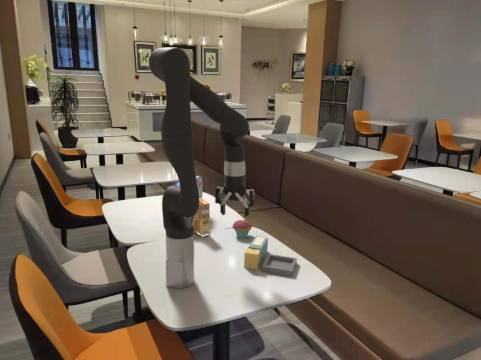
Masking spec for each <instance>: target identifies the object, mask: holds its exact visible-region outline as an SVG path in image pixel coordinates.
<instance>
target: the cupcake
mask: <svg viewBox="0 0 481 360" xmlns="http://www.w3.org/2000/svg"><path fill="white" fill-rule="evenodd" d="M246 219H247V217H245V216H244V217H243V219H239V220H235V221H234V222H233V223H232V229H233V230H234V231H235V234H236V236H237V237H238V236H239V237H238V238H241V237H244V238H247V237H248V236H249V232H250V231H251V230H252V227H253V226H252V223H251V222H249V221H248V220H246ZM247 235H248V236H247ZM246 236H247V237H246Z"/></svg>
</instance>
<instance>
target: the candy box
mask: <svg viewBox="0 0 481 360" xmlns="http://www.w3.org/2000/svg"><path fill="white" fill-rule="evenodd" d="M210 204H211V203H210V202H208V201H206V200H205V199H203V198H202V199H201V198H199V208H198V211H197V213H196V214H195V215H194V216H193V221H192V225H193V226H194V232H195V231H197V232H198V233H200V234H201V235H205V234H210V232H211V231H210V229H211V228H210V227H211V226H210V221H211V220H210V218H211V217H210V215H211V214H210V211H211V210H210Z"/></svg>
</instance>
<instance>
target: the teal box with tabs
mask: <svg viewBox="0 0 481 360" xmlns="http://www.w3.org/2000/svg"><path fill="white" fill-rule="evenodd" d="M268 244H269V237H266V236H259V235H256V236H255V237H253V240H252V241H251V242H250V244H249V246H248V247H247V248H249V249H256V250H260V264H262V261H263V260H264V258H265V256H266V255H267V252H268Z"/></svg>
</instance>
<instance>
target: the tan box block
mask: <svg viewBox="0 0 481 360" xmlns="http://www.w3.org/2000/svg"><path fill="white" fill-rule="evenodd" d="M243 258H244V261H243V262H244V264H243V268H246V269H252V270H258V269H259V267H260V265H261V263H260V250H256V249H249V248H248V247H247V249H246V250H245V252H244V257H243Z"/></svg>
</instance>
